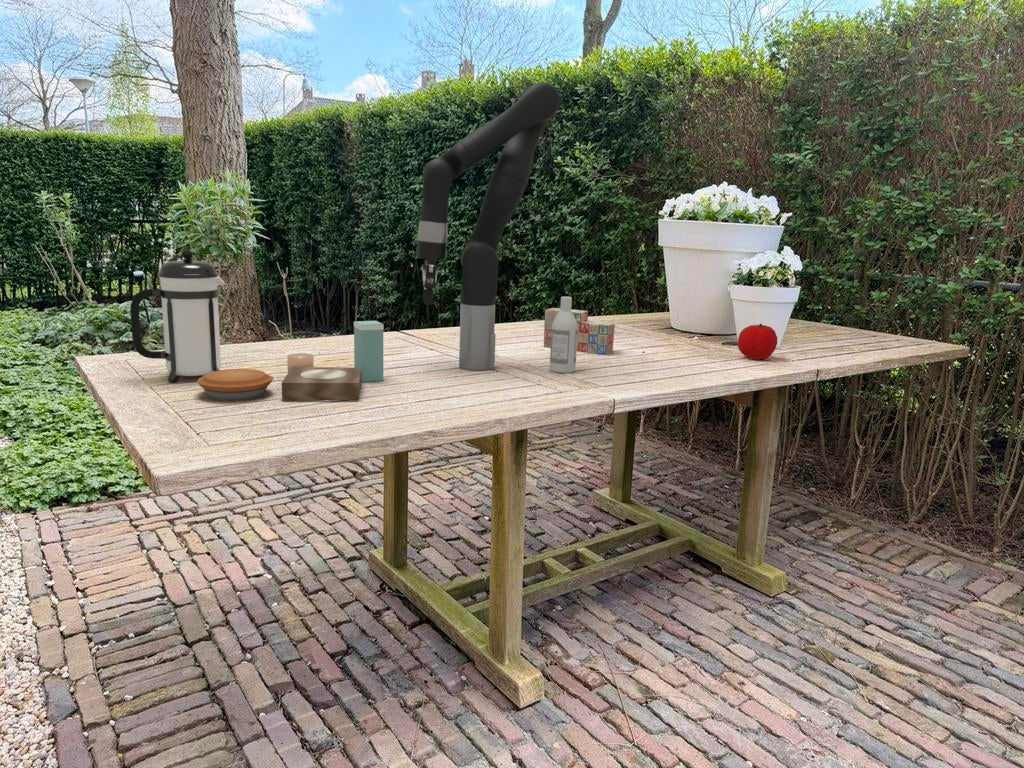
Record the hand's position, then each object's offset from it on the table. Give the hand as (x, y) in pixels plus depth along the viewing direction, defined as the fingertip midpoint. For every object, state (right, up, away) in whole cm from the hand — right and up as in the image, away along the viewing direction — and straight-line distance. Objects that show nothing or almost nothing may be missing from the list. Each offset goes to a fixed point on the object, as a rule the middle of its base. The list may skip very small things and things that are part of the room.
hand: (427, 302), depth 192 cm
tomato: (+98, -14, +36) cm, 105 cm away
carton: (-13, -20, -13) cm, 27 cm away
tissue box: (-20, -23, -27) cm, 41 cm away
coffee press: (-55, -20, -18) cm, 61 cm away
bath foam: (+36, -18, +6) cm, 40 cm away
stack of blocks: (+43, -11, +39) cm, 59 cm away
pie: (-38, -24, -31) cm, 55 cm away
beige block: (-29, -20, -16) cm, 39 cm away
